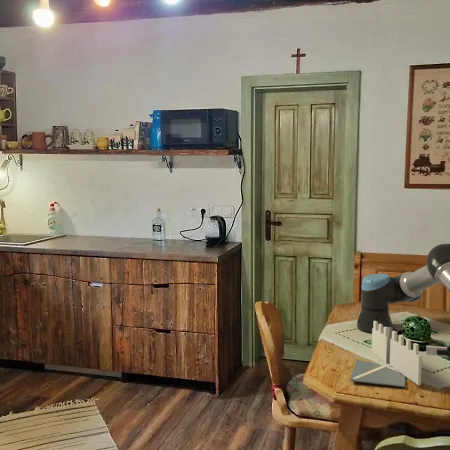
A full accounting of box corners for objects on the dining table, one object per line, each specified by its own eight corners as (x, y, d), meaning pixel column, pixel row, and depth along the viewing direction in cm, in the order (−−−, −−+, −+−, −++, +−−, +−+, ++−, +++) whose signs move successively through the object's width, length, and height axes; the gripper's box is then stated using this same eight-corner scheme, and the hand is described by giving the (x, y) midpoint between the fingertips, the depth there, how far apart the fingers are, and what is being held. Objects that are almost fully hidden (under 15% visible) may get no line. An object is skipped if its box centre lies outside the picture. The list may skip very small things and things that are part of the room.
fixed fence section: (392, 365, 209) (393, 328, 207) (387, 365, 208) (388, 328, 207) (375, 352, 223) (376, 318, 221) (370, 353, 222) (371, 318, 221)
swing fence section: (389, 364, 208) (390, 330, 207) (392, 364, 208) (393, 329, 207) (418, 385, 189) (419, 347, 187) (420, 385, 189) (422, 346, 187)
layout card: (359, 351, 226) (359, 349, 226) (406, 355, 220) (406, 354, 220) (350, 380, 195) (350, 379, 195) (404, 387, 189) (404, 385, 189)
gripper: (504, 374, 179) (426, 366, 187) (499, 361, 192) (425, 354, 199) (505, 351, 179) (426, 344, 186) (500, 340, 191) (426, 334, 199)
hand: (426, 349), depth 193 cm, fingers closed
